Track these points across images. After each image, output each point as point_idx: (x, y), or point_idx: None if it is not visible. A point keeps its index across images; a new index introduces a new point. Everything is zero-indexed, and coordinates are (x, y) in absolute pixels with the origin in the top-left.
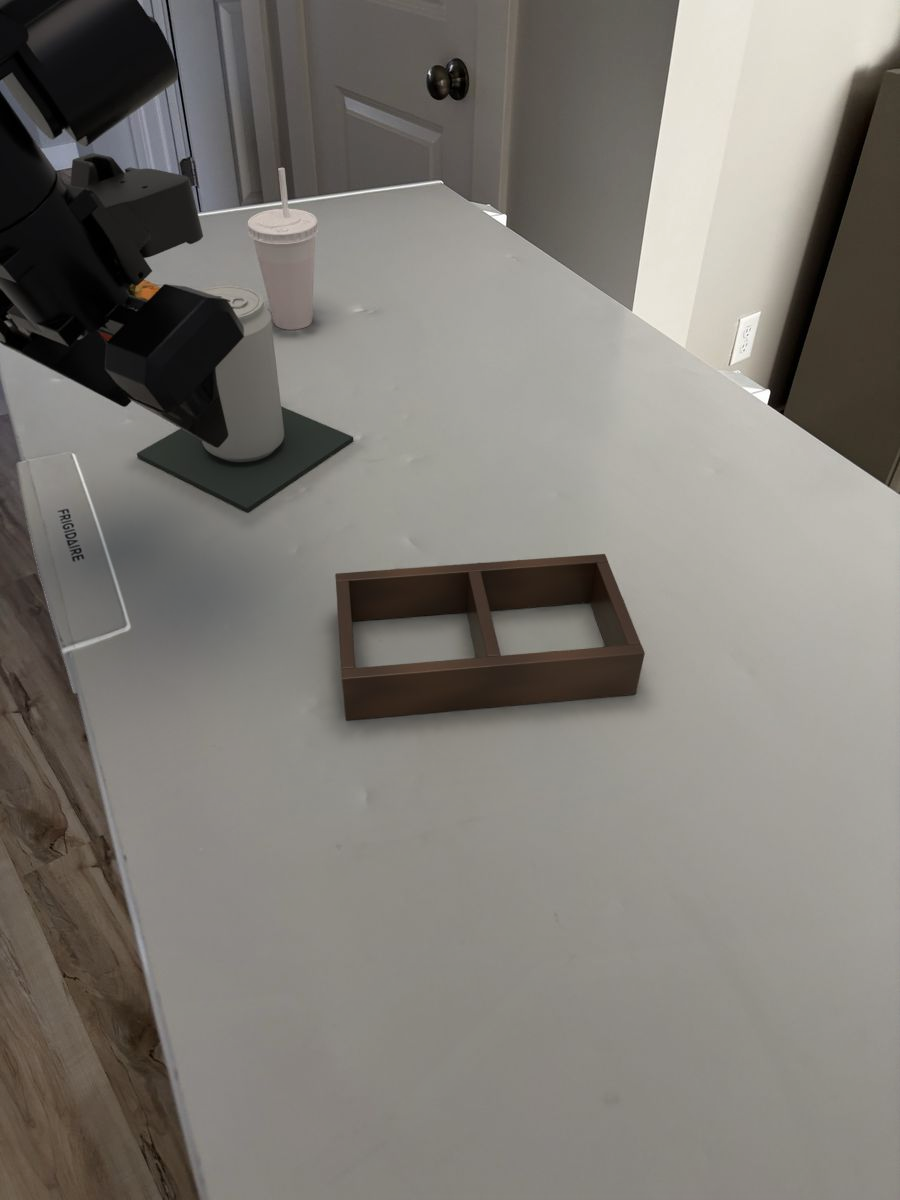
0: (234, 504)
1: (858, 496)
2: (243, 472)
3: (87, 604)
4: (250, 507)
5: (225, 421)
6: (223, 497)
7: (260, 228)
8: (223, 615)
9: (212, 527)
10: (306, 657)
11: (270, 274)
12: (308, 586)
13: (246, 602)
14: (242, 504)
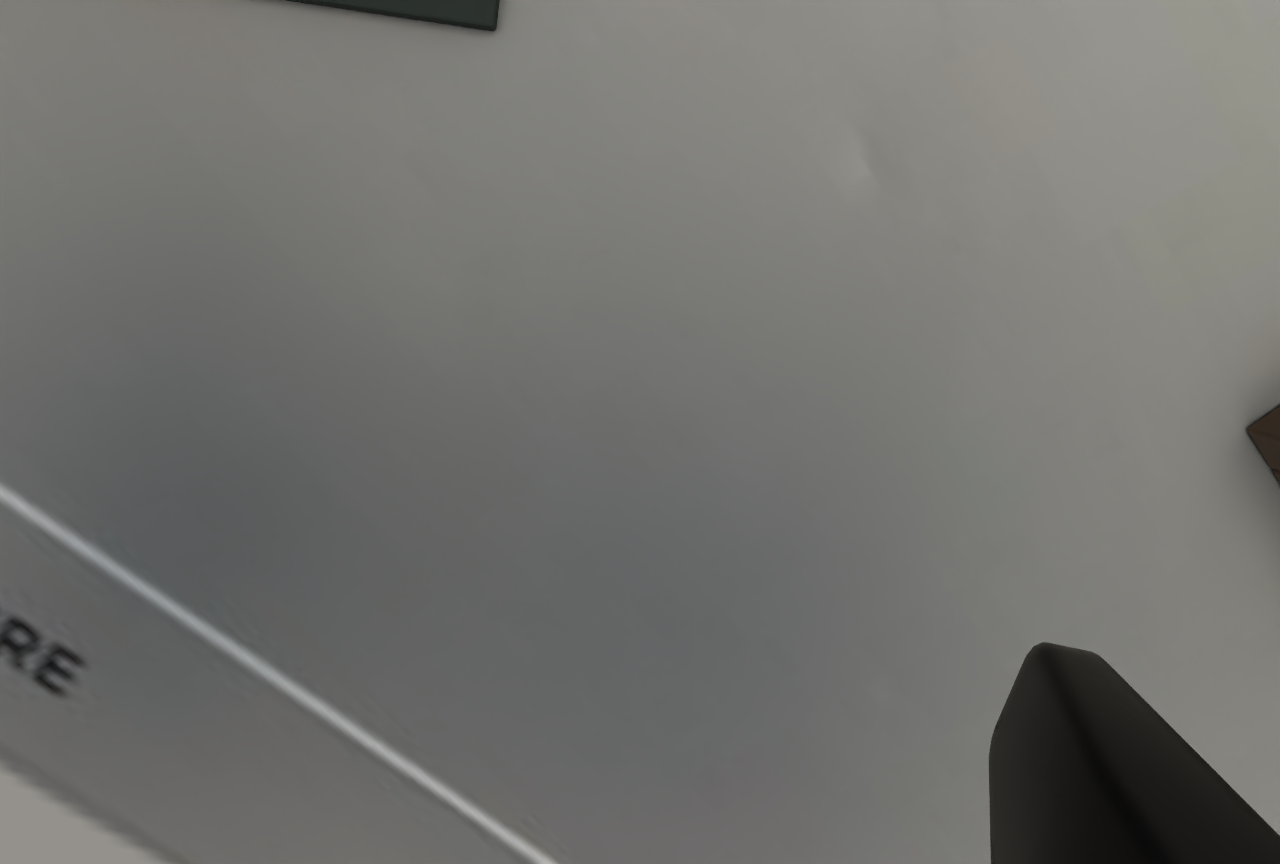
0: (404, 17)
1: None
2: None
3: (318, 856)
4: (496, 4)
5: (1200, 757)
6: (324, 2)
7: None
8: (832, 650)
9: (420, 211)
10: (1242, 679)
11: None
12: (1043, 343)
13: (869, 547)
14: (454, 12)
